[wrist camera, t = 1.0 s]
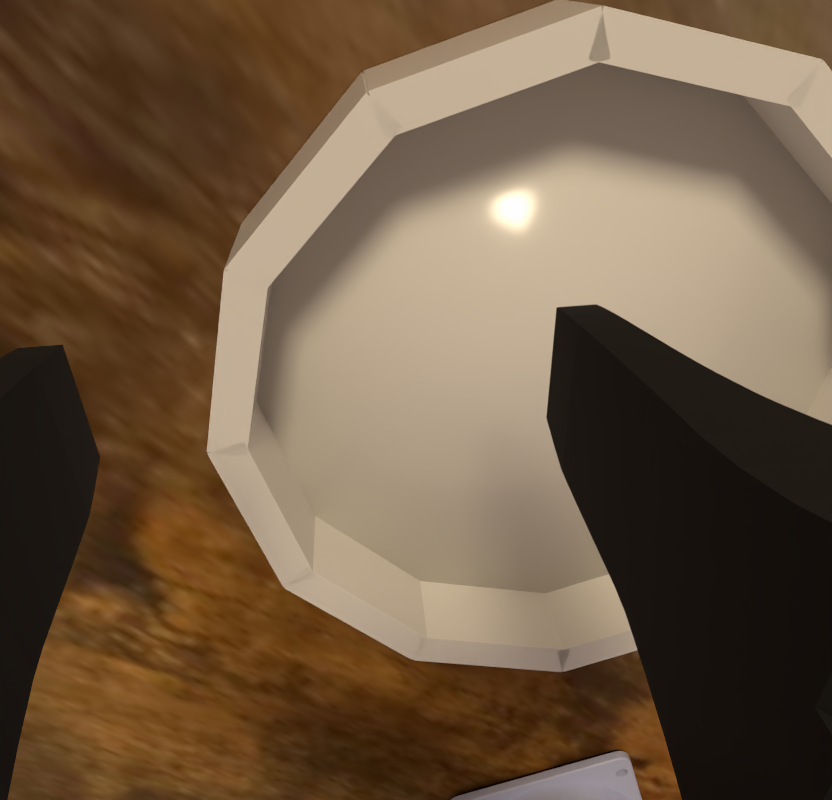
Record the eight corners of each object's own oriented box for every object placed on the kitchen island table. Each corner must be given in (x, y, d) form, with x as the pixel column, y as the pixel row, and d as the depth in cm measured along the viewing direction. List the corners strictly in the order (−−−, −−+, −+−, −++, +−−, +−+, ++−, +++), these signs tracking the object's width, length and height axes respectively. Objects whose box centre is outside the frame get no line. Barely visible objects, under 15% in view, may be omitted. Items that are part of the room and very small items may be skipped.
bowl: (859, 497, 27) (926, 565, 24) (361, 648, 28) (364, 730, 25) (841, -105, 18) (945, -120, 15) (107, 164, 19) (63, 202, 16)
